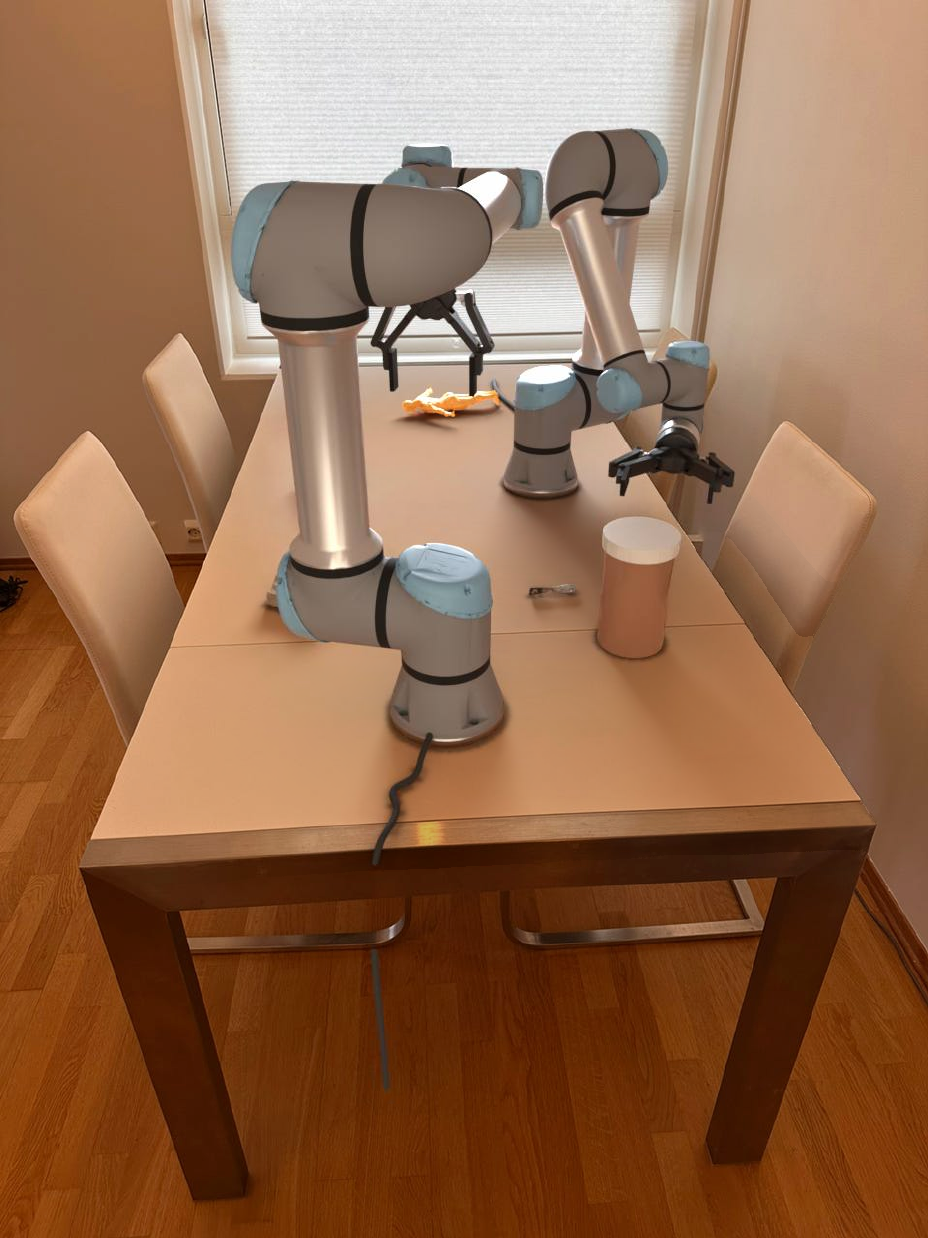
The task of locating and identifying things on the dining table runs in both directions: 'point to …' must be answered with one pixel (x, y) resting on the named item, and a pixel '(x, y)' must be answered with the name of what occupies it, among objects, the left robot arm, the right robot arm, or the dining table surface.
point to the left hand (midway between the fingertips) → (433, 391)
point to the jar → (633, 607)
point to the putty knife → (553, 589)
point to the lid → (641, 540)
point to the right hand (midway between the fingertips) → (665, 491)
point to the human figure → (447, 402)
